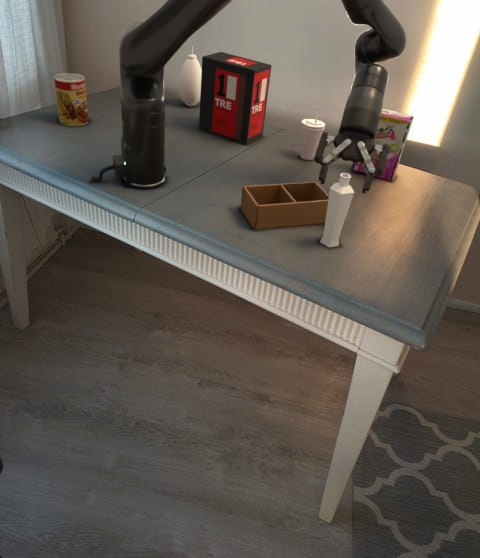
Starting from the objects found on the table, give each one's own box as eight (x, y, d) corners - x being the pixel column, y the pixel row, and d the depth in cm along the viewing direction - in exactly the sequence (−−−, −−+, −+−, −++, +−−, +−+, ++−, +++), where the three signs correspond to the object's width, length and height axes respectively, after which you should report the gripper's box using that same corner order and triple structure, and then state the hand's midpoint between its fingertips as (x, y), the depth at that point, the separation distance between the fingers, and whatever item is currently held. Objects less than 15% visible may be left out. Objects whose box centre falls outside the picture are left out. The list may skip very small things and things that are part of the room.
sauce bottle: (175, 107, 160) (176, 46, 149) (181, 100, 166) (183, 41, 156) (199, 110, 160) (202, 50, 149) (204, 103, 166) (207, 44, 155)
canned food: (84, 127, 140) (80, 83, 132) (55, 124, 139) (50, 80, 132) (91, 117, 146) (87, 74, 139) (64, 115, 146) (59, 71, 138)
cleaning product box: (198, 129, 147) (202, 56, 135) (216, 121, 153) (220, 51, 141) (246, 145, 141) (254, 70, 129) (262, 136, 147) (271, 64, 135)
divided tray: (254, 229, 105) (257, 206, 101) (240, 208, 111) (242, 186, 108) (328, 222, 110) (333, 200, 107) (311, 202, 117) (315, 181, 113)
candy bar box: (350, 171, 133) (365, 109, 123) (355, 164, 137) (370, 104, 127) (392, 182, 130) (411, 120, 120) (395, 175, 134) (414, 114, 124)
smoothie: (317, 163, 135) (328, 112, 127) (294, 159, 136) (302, 108, 127) (319, 154, 140) (329, 104, 132) (296, 150, 141) (305, 100, 133)
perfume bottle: (316, 235, 105) (330, 169, 96) (336, 236, 106) (352, 170, 97) (320, 248, 101) (336, 180, 92) (341, 248, 102) (359, 181, 93)
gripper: (328, 99, 102) (308, 173, 100) (399, 112, 100) (380, 188, 98) (327, 117, 109) (308, 186, 107) (393, 129, 107) (375, 201, 105)
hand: (343, 187), depth 102 cm, fingers open, 8 cm apart
